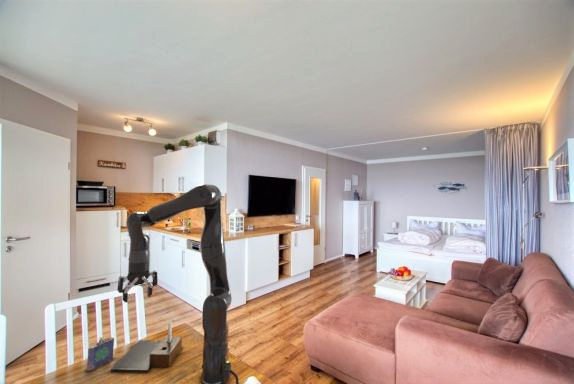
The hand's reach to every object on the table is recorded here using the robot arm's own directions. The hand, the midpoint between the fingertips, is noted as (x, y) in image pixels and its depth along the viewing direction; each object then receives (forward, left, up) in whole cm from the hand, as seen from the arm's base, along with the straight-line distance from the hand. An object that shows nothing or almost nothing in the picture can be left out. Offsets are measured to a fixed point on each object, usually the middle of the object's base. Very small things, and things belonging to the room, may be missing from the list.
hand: (137, 299), depth 105 cm
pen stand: (-11, -5, -27) cm, 29 cm away
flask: (+13, +1, -27) cm, 30 cm away
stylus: (-11, -7, -27) cm, 30 cm away
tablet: (-1, -5, -27) cm, 27 cm away
